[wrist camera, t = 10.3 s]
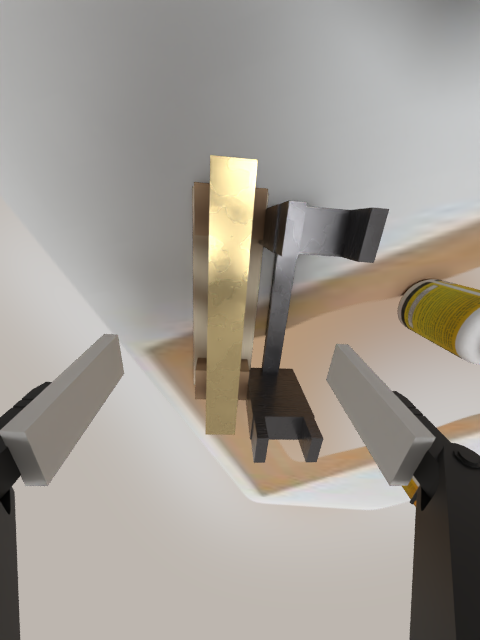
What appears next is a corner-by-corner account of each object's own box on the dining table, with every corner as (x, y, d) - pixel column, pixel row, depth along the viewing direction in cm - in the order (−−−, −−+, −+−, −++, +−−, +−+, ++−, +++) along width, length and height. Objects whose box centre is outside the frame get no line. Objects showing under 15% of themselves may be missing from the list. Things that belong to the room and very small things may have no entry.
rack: (261, 205, 22) (289, 189, 12) (322, 210, 22) (393, 199, 13) (244, 389, 30) (252, 466, 21) (288, 390, 31) (316, 465, 21)
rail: (213, 169, 18) (210, 155, 14) (251, 172, 18) (257, 159, 15) (208, 405, 27) (205, 434, 24) (233, 406, 27) (234, 434, 24)
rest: (192, 187, 21) (187, 181, 18) (267, 193, 22) (274, 189, 19) (194, 382, 29) (191, 399, 27) (248, 383, 30) (250, 400, 27)
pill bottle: (393, 332, 28) (487, 393, 18) (396, 284, 26) (506, 324, 16) (444, 321, 28) (568, 377, 18) (451, 272, 26) (599, 303, 16)
